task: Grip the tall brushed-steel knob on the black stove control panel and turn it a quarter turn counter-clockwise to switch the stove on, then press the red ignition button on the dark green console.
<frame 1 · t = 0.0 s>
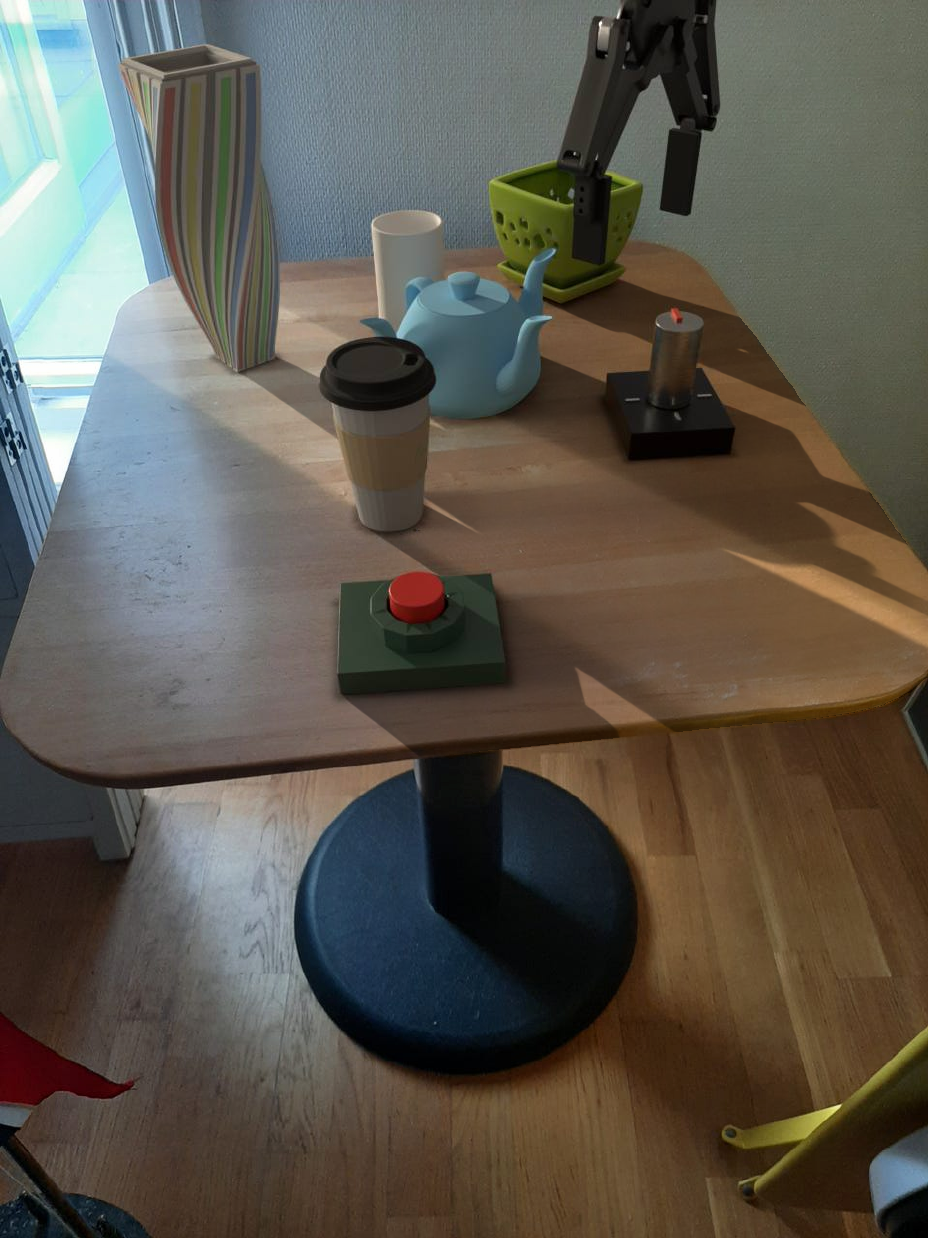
hand: (633, 235, 77), 20 cm above the table, tool pointing down, fingers open, 13 cm apart
vase: (246, 359, 106), on the table
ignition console: (420, 641, 71), on the table
teapot: (470, 393, 99), on the table
stove knob: (674, 359, 88), point 7 cm above the table, hinge at 0.0°
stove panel: (664, 425, 93), on the table
ignition button: (416, 597, 68), point 4 cm above the table, slide at 0.1 cm
flower pot: (560, 284, 120), on the table
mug: (408, 319, 113), on the table
coffee cup: (390, 514, 83), on the table
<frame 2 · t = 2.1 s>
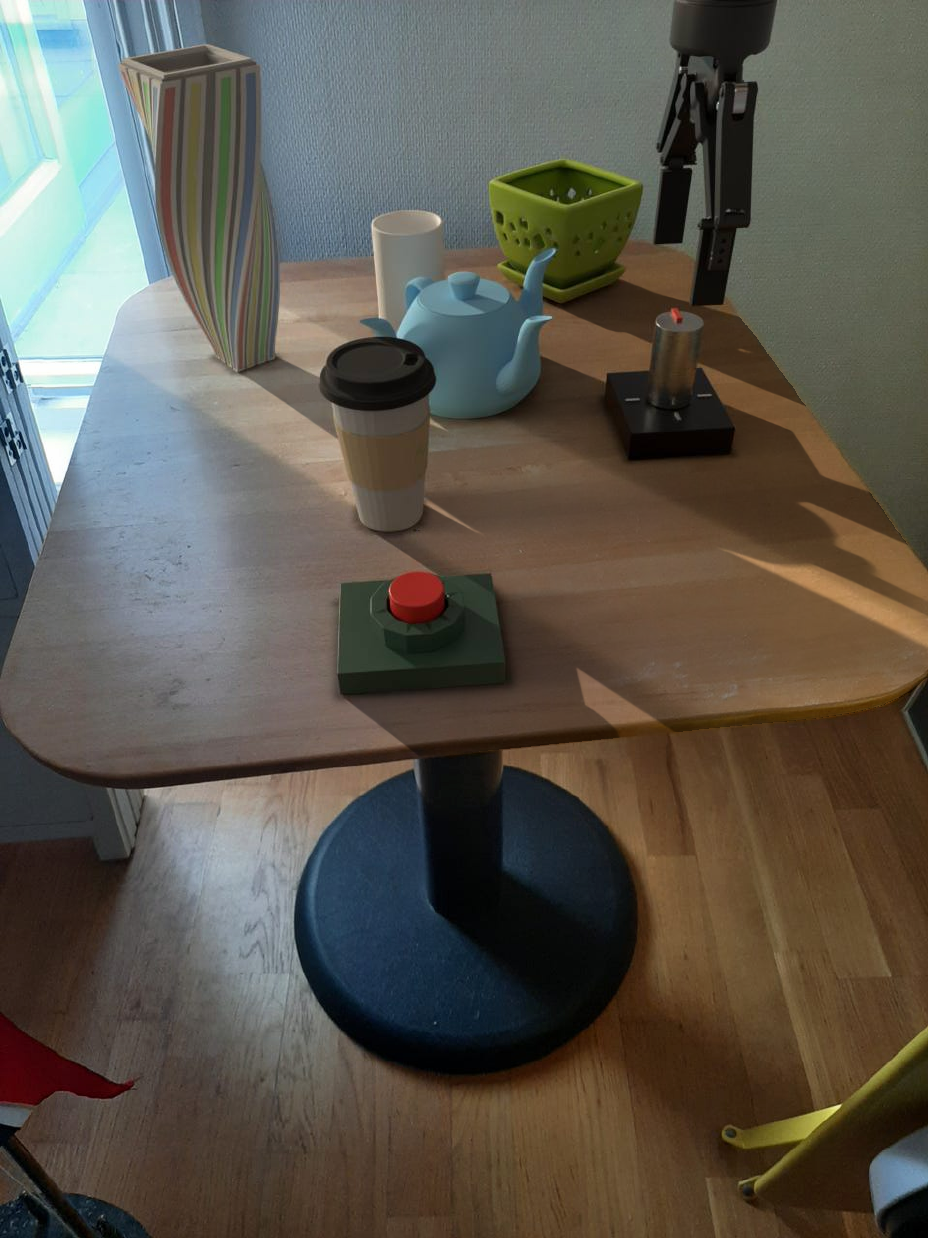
hand: (685, 271, 83), 16 cm above the table, tool pointing down, fingers open, 13 cm apart
nothing on the table moved.
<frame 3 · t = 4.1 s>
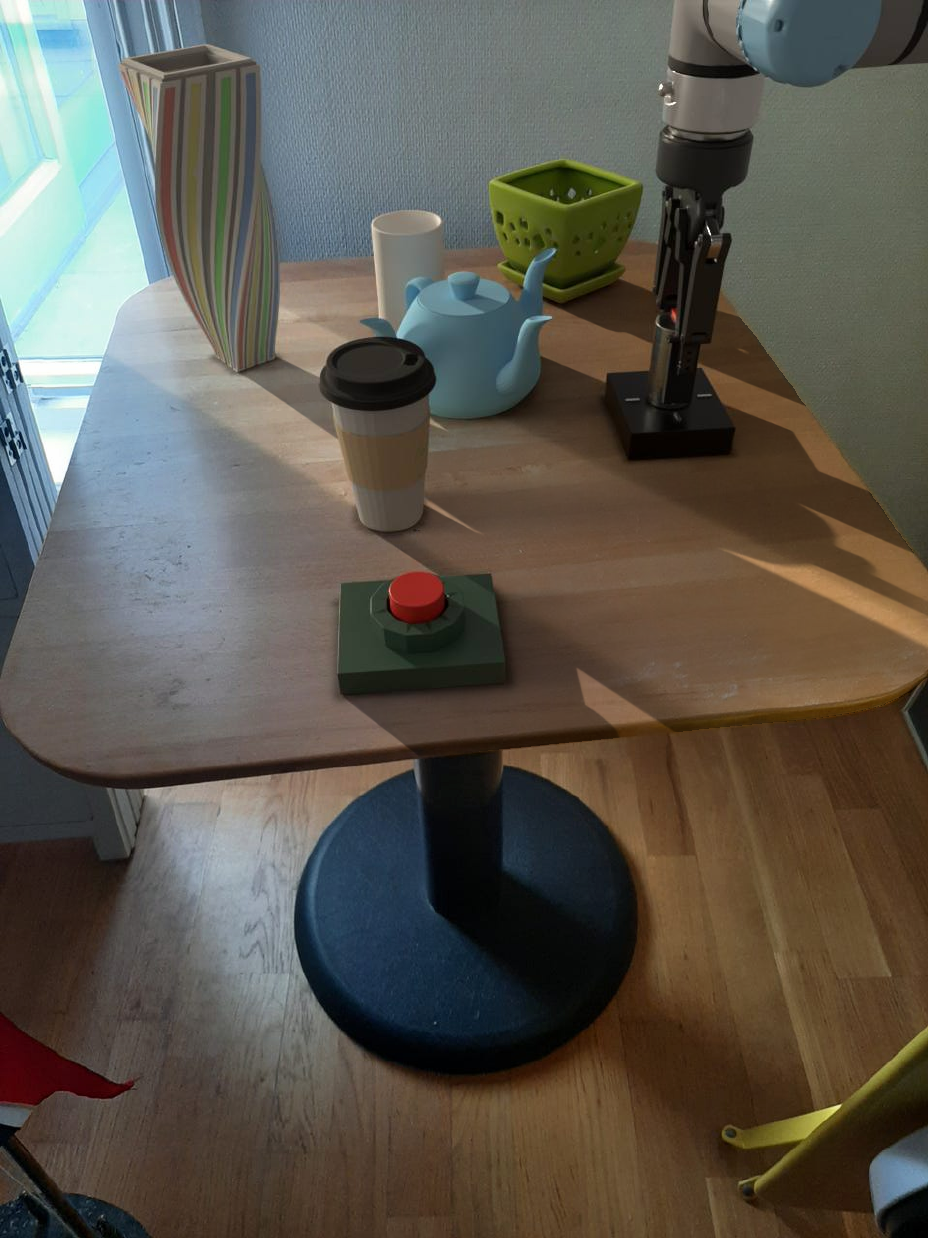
hand: (669, 387, 90), 4 cm above the table, tool pointing down, fingers closed on stove knob, 4 cm apart
stove knob: (674, 359, 88), point 7 cm above the table, hinge at 0.0°, touching gripper
everything else where it was.
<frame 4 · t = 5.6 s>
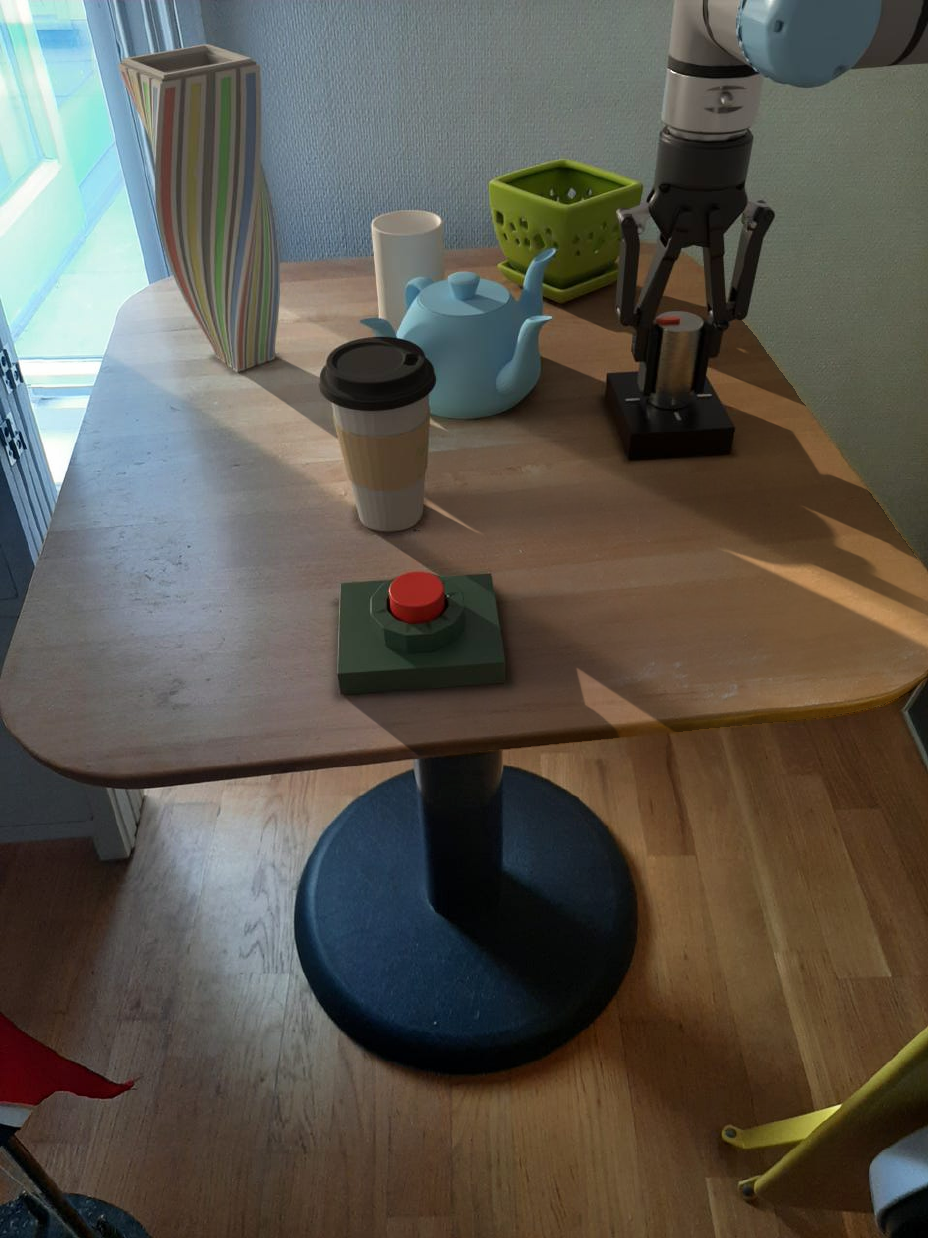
hand: (669, 387, 90), 4 cm above the table, tool pointing down, fingers closed on stove knob, 4 cm apart
stove knob: (674, 359, 88), point 7 cm above the table, hinge at 90.6°, touching gripper
everything else where it was.
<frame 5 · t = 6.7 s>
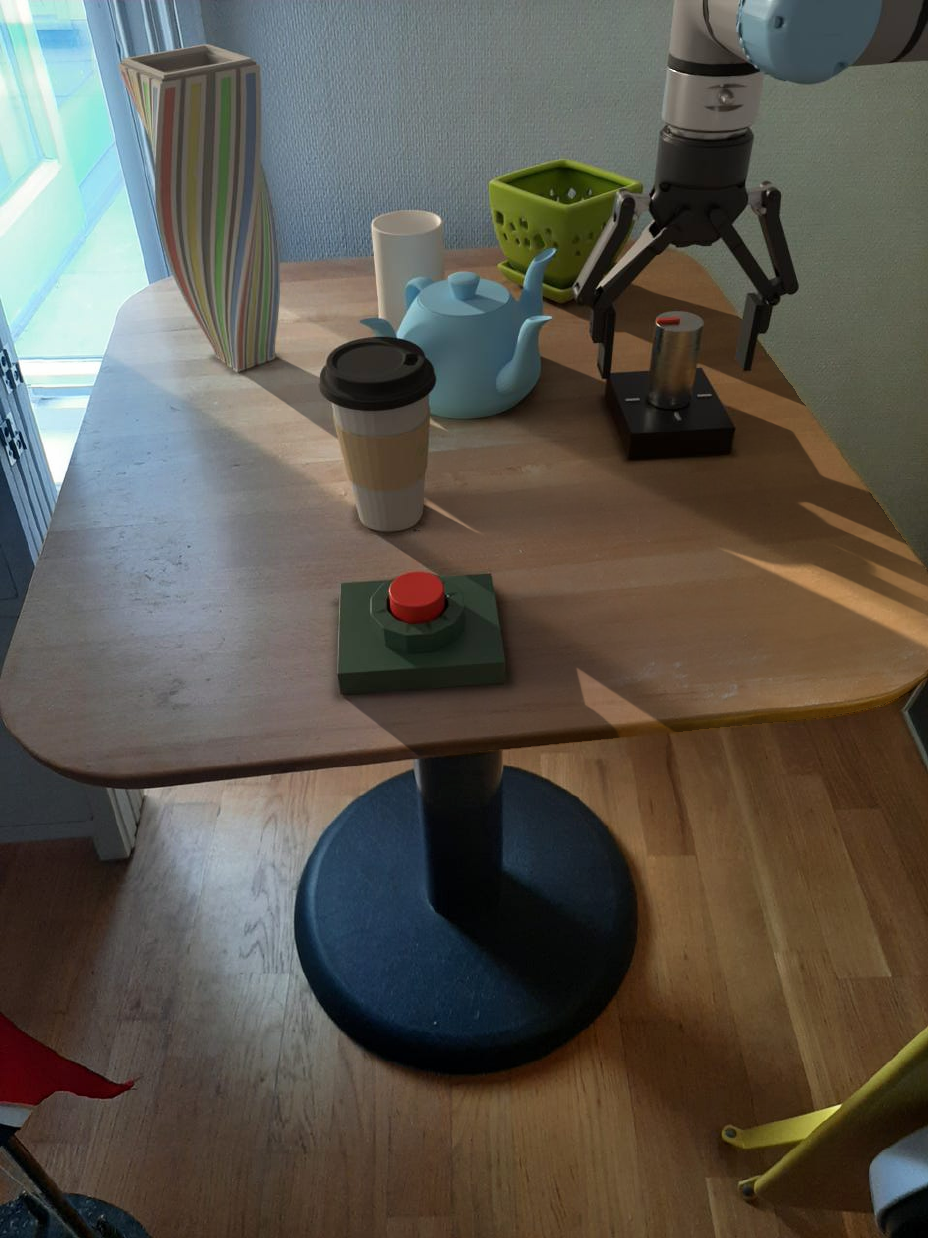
hand: (673, 368, 89), 6 cm above the table, tool pointing down, fingers open, 13 cm apart
stove knob: (674, 359, 88), point 7 cm above the table, hinge at 90.4°
everything else where it was.
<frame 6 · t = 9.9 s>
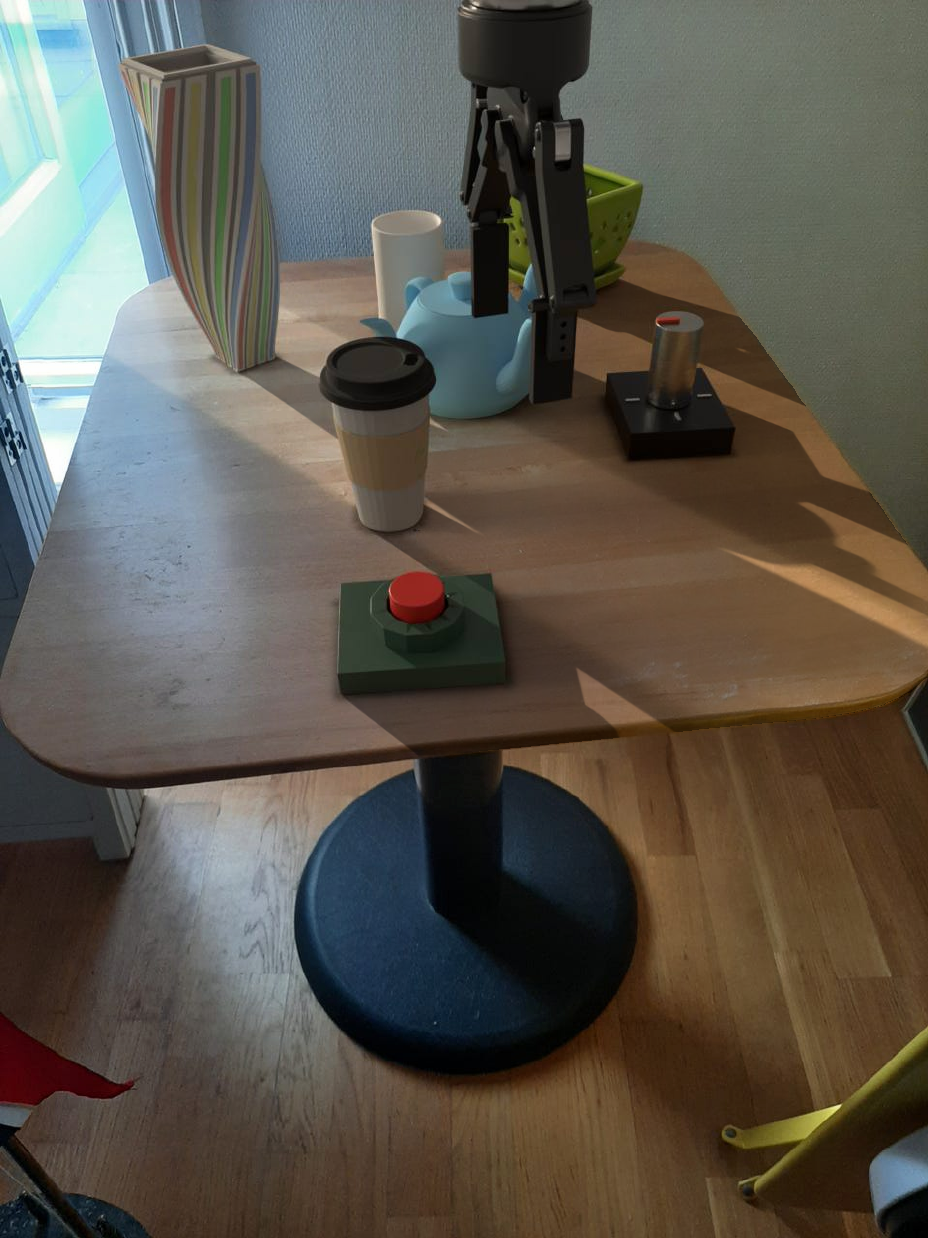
hand: (518, 353, 65), 19 cm above the table, tool pointing down, fingers open, 13 cm apart
nothing on the table moved.
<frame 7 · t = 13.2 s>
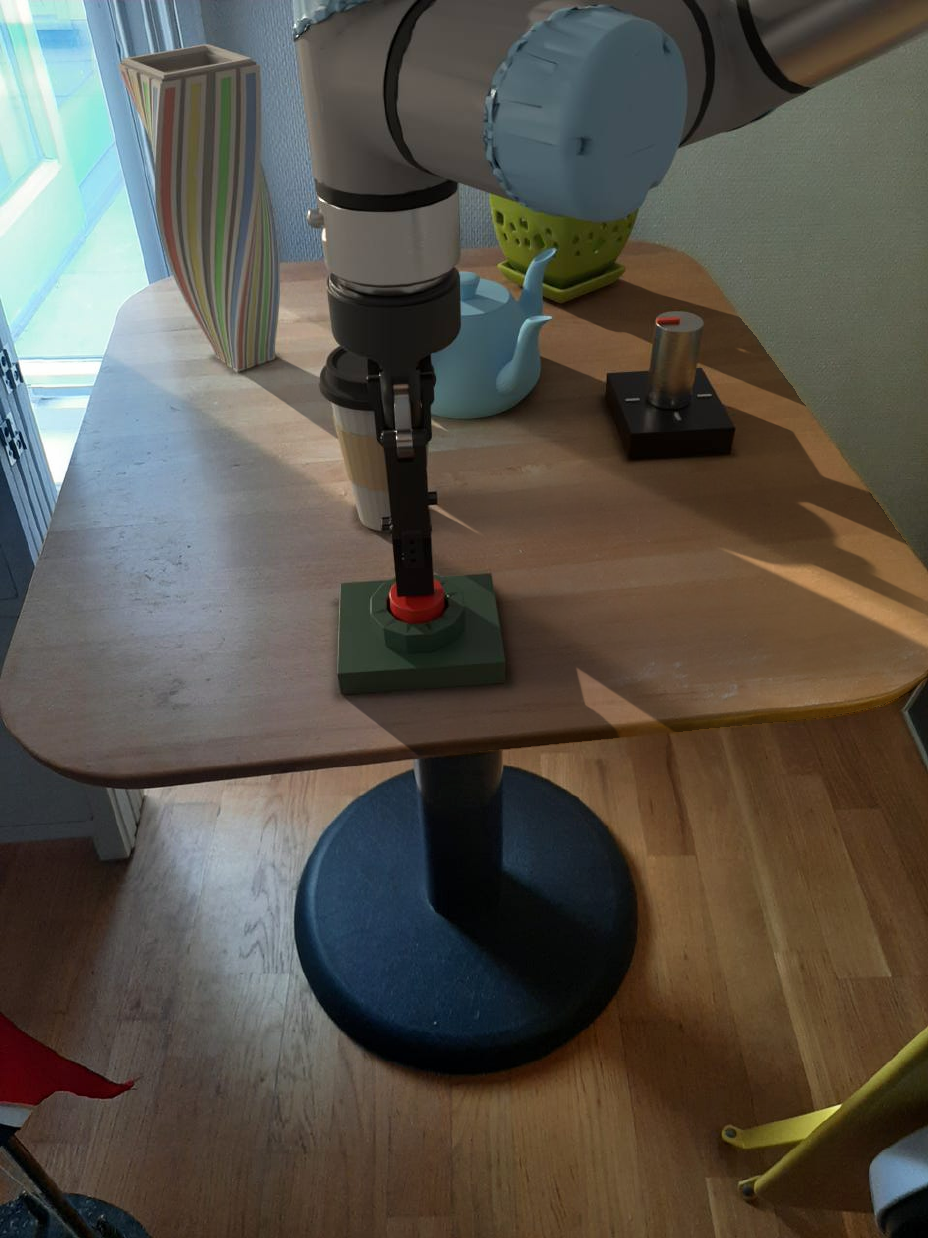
hand: (415, 588, 67), 5 cm above the table, tool pointing down, fingers closed
ignition button: (417, 601, 68), point 4 cm above the table, slide at -0.2 cm, touching gripper
everything else where it was.
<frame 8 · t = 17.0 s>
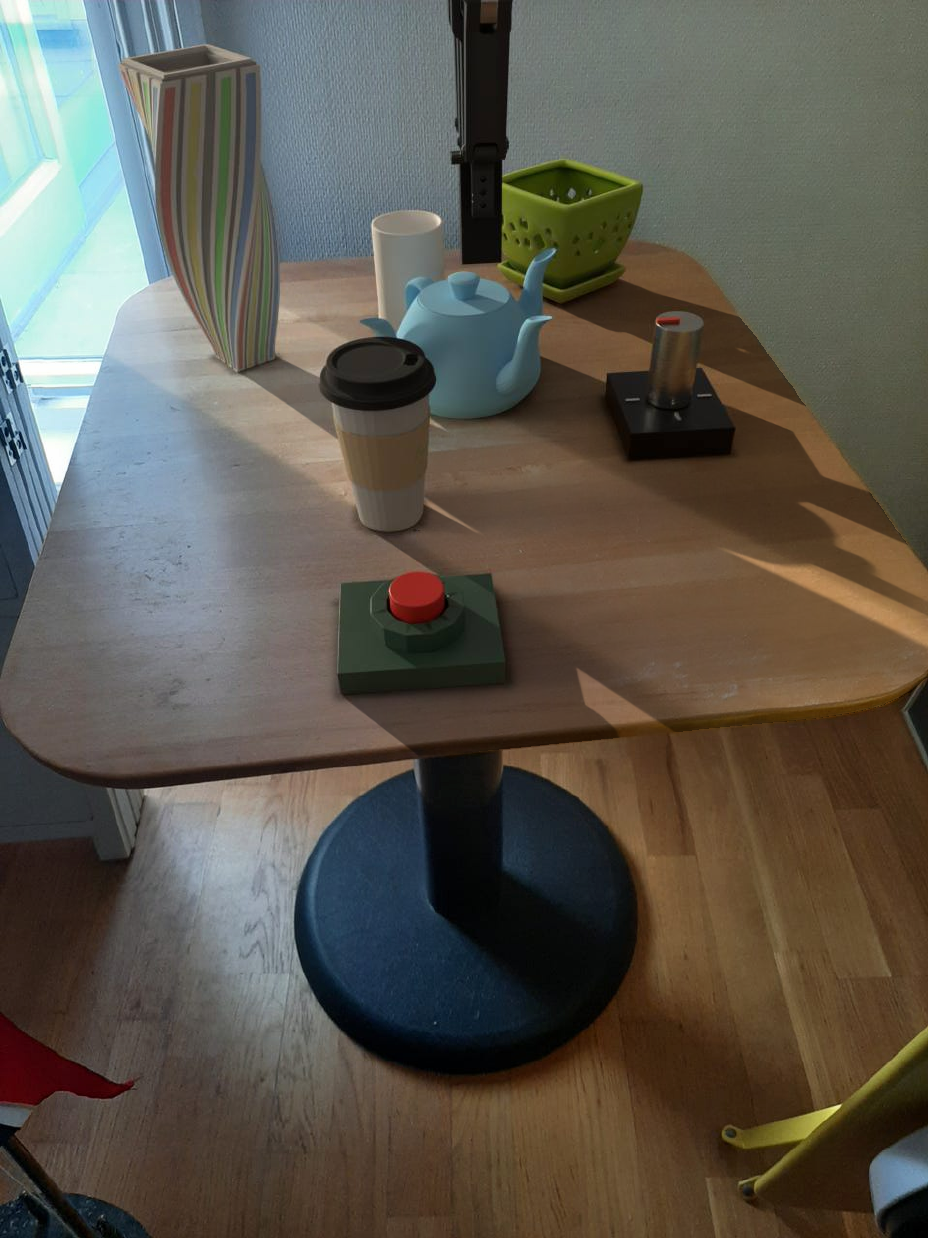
hand: (480, 259, 63), 24 cm above the table, tool pointing down, fingers closed
ignition button: (416, 597, 68), point 4 cm above the table, slide at 0.1 cm
everything else where it was.
at the end: stove knob at +90° (first picture: +0°); ignition button pushed in 1.0 cm at the most during the clip, back to where it started at the end; ignition button slide at 0.1 cm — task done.
